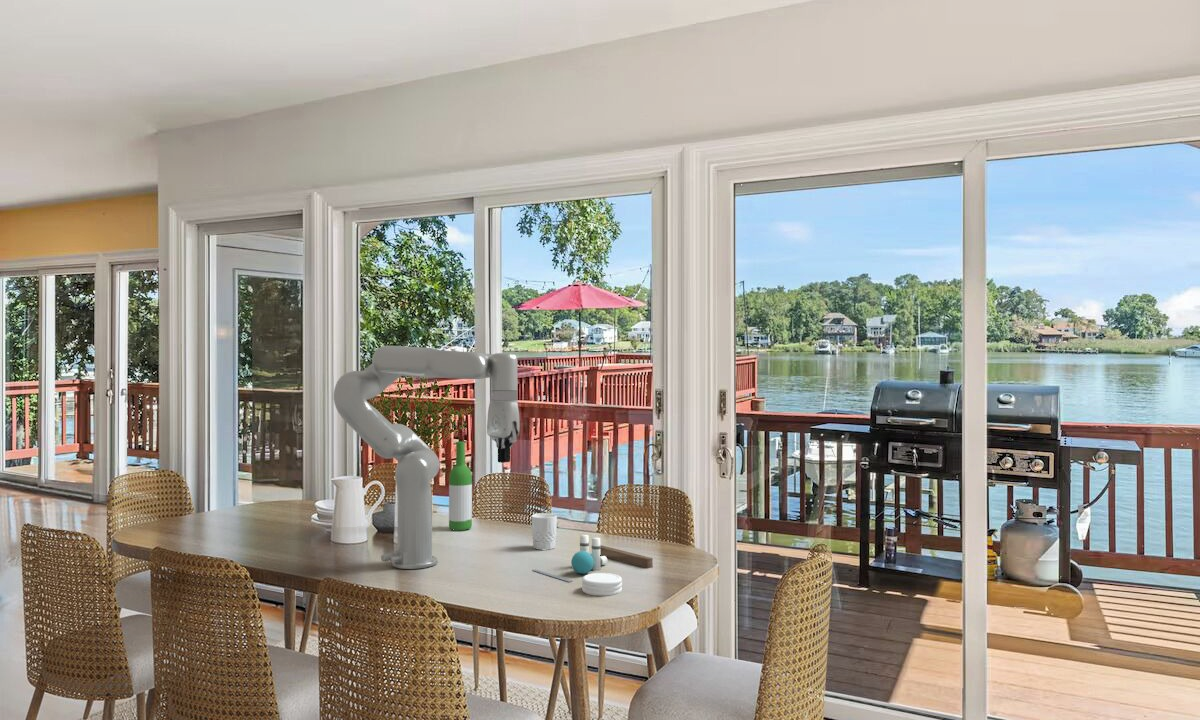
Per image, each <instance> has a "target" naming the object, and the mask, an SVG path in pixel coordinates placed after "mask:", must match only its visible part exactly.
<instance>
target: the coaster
mask: <svg viewBox="0 0 1200 720" xmlns="http://www.w3.org/2000/svg"><path fill="white" fill-rule="evenodd" d="M581 580H582V581H581V582H582V583H581V585H582V587H581V590H582V592H583V593H584V594H587V595H590V596H598V597H599V596H601V597H604V596H606V597H607V596H614V595H618V594H619V593H621V592H622V591H623V578H622V576H621V575H618V574H615V573H609V572H595V573H594V572H593V573H589V574H586V575H585V574H584V576H582V579H581Z"/></svg>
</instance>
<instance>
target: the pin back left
mask: <svg viewBox="0 0 1200 720" xmlns="http://www.w3.org/2000/svg"><path fill="white" fill-rule="evenodd" d="M589 536H590V535H588V534H580V535H579V551H586V552H588V553H589V554H590V552H589V551H590V550H589V545H590V543H589V542H590V541H589Z"/></svg>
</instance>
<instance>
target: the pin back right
mask: <svg viewBox="0 0 1200 720" xmlns="http://www.w3.org/2000/svg"><path fill="white" fill-rule="evenodd" d="M600 549H601V538H600V537H591V556H592V558H593V561H594V564H593V567H592V569H591V570H592V571H600V570H601V566H600V557H601V556H600Z"/></svg>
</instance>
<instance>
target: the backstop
mask: <svg viewBox="0 0 1200 720" xmlns="http://www.w3.org/2000/svg"><path fill="white" fill-rule="evenodd" d="M600 545H601V544H600ZM600 555H601V556H606V557H608V558H607V559H611V558H612V559H611V560H615V561H618V560H619V561H618V562H622V561H623V562H622V563H626V562H627V563H626V564H630V565H633V564H634V565H635V566H638V567H641V568H645V569H650V568H653V562H654V561H653V559H654V557H650V556H646V555H643V554H642V555H641V554H638V553H634V552H629V551H626V550H621V549H618V548H613V547H610V546H605V545H601V549H600ZM601 556H600V557H601ZM634 565H633V566H634Z"/></svg>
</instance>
